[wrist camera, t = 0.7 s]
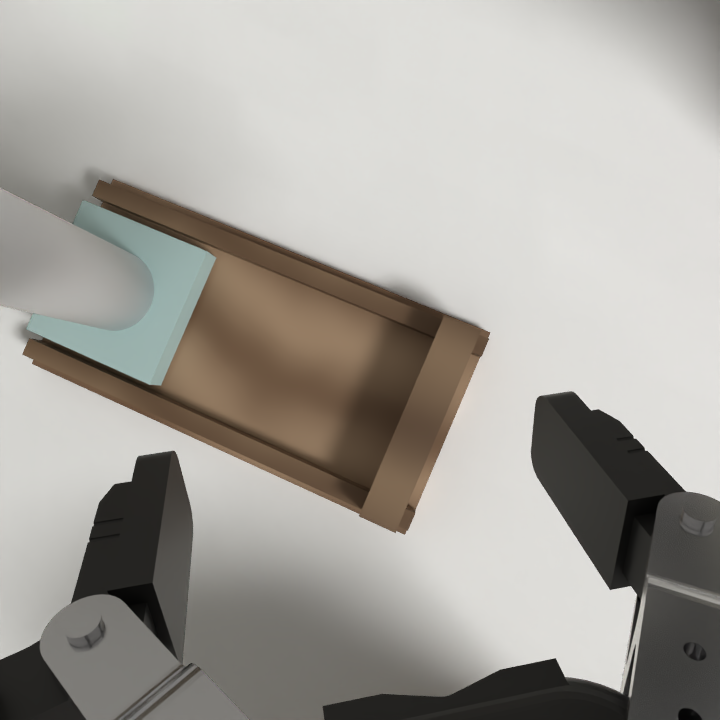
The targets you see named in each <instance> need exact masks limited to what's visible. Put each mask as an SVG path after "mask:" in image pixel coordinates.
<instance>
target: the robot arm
mask: <svg viewBox="0 0 720 720" xmlns="http://www.w3.org/2000/svg"><path fill="white" fill-rule="evenodd" d="M531 458H532V464H533V468H534V471H535V473H536V476H537V478H538V479H539V481H540V482H541V484H542V485H543V487H544V489H545V490H546V492H547V493H548V495H549V496H550V498H551V499H552V501H553V502H554V504H555V505H556V507H557V509H558V510H559V512H560V513H561V515H562V516H563V518H564V519H565V521H566V522H567V524H568V526H569V527H570V529H571V530H572V532H573V533H574V535H575V536H576V538H577V539H578V541H579V543H580V544H581V546H582V547H583V549H584V550H585V552H586V553H587V555H588V556H589V558H590V559H591V561H592V563H593V564H594V566H595V567H596V569H597V570H598V572H599V573H600V575H601V576H602V578H603V580H604V581H605V583H606V584H607V586H608V587H609V589H610V590H612V589H617V588H622V587H628V586H632V588H633V589H634V591H635V592H636V594H637V596H636V601H635V605H634V611H633V617H632V623H631V629H630V635H629V641H628V647H627V653H626V659H625V666H624V672H623V678H622V683H621V688H620V692H618V691H616V690H614V689H611V688H609V687H606V686H604V685H601V684H598V683H594V682H591V681H587V680H582V679H576V678H569V677H565V676H564V674H563V672H562V670H561V668H560V666H559V664H558V662H557V660H556V658H555V659H550V660H545V661H540V662H536V663H531V664H526V665H521V666H516V667H511V668H506V669H502V670H499V671H497V672H495V673H493V674H491V675H489V676H487V677H485V678H483V679H481V680H479V681H477V682H475V683H473V684H472V685H470V686H468V687H466V688H464V689H462V690H460V691H458V692H456V693H454V694H452V695H449V696H445V697H432V696H411V695H391V694H380V695H375V696H370V697H365V698H360V699H356V700H351V701H346V702H341V703H336V704H331V705H326V706H323V711H324V719H325V720H720V502H719V501H717V500H715V499H713V498H711V497H708V496H706V495H702V494H698V493H693V492H686V491H685V490H684V489H683V488H682V487H681V486H680V485H679V484H678V483H677V482H676V481H675V480H674V479H673V478H672V476H671V475H670V474H669V473H668V472H667V471H666V470H665V469H664V468H663V467H662V466H661V465H660V464H659V463H658V462H657V460H656V459H655V458H654V457H653V456H652V455H651V454H650V453H649V452H648V451H645V448H644V447H643V446H642V445H641V443H640V442H639V441H638V440H637V439H634V438H633V435H632V434H631V433H630V432H629V431H628V430H627V429H626V427H625V426H624V425H623V424H622V423H621V422H620V421H619V420H617V419H615V418H613V417H611V416H610V415H608V414H606V413H604V412H602V411H601V410H599V409H598V410H592V411H591V410H590V409H589V408H588V407H587V406H586V405H585V403H584V402H583V401H582V400H581V399H580V398H579V397H578V396H577V395H576V394H575V393H574V392H572V391H570V392H563V393H557V394H550V395H544V396H539V397H538V398H537V400H536V404H535V414H534V425H533V435H532V446H531ZM89 540H90V542H89V543H88V545H87V548H86V552H85V555H84V559H83V562H82V566H81V570H80V573H79V577H78V580H77V584H76V587H75V591H74V595H73V598H72V602H71V604H70V605H68V606H66V607H65V608H64V609H62V610H61V611H60V612H59V613H58V614H56V615H55V616H54V617H53V618H52V620H51V621H50V622H49V623H48V625H47V626H46V628H45V629H44V632H43V634H42V636H41V640H40V641H38V642H36V643H35V644H33V645H32V646H30V647H28V648H26V649H24V650H21V651H19V652H17V653H15V654H12V655H10V656H8V657H6V658H3V659H1V660H0V720H250V719H249V718H248V717H247V716H246V715H245V714H244V713H243V712H242V711H241V710H240V709H239V708H238V707H237V706H236V705H235V704H234V703H233V702H232V701H231V700H230V699H229V697H228V696H227V695H226V694H225V693H224V692H223V691H222V690H221V689H220V688H219V687H218V686H217V685H216V684H215V683H214V682H213V681H212V680H211V679H210V678H209V676H208V675H207V674H206V673H205V672H204V671H203V670H202V669H200V668H199V667H198V666H197V665H195V664H193V663H190V664H189V665H188V666H187V667H185V666H183V665H182V660H183V648H184V636H185V624H186V612H187V600H188V588H189V576H190V564H191V552H192V540H193V520H192V512H191V507H190V502H189V499H188V495H187V491H186V487H185V483H184V479H183V476H182V472H181V468H180V464H179V460H178V457H177V454H176V452H175V451H169V452H162V453H156V454H149V455H143V456H138V457H137V460H136V464H135V468H134V473H133V477H132V482H125V483H119V484H114V485H113V487H112V488H111V489H110V490H109V491H108V493H107V494H106V495H105V496H104V498H103V499H102V500H101V501H100V503H99V505H98V509H97V512H96V516H95V520H94V526H93V527H92V530H91V534H90V537H89Z"/></svg>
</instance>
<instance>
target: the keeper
mask: <svg viewBox="0 0 720 720" xmlns="http://www.w3.org/2000/svg"><path fill="white" fill-rule="evenodd" d="M215 260H216V257H215V256H213V255H212V254H210V253H209V252H207V251H205V250H203V249H200V248H198V247H195V246H193V245H191V244H188V243H186V242H183V241H181V240H179V239H176V238H174V237H171V236H169V235H167V234H164V233H162V232H159V231H157V230H154V229H152V228H150V227H147V226H145V225H142V224H140V223H138V222H135V221H133V220H130V219H128V218H126V217H123V216H121V215H118V214H116V213H113V212H111V211H109V210H106V209H104V208H101V207H99V206H97V205H94V204H92V203H89V202H87V201H84V200H83V201H82V204H81V206H80V208H79V210H78V213H77V215H76V217H75V219H74V222H73V224H72V223H70V222H68V221H66V220H64V219H62V218H60V217H58V216H56V215H54V214H52V213H50V212H48V211H46V210H44V209H42V208H40V207H38V206H36V205H34V204H32V203H30V202H28V201H26V200H24V199H22V198H20V197H18V196H16V195H14V194H12V193H10V192H8V191H6V190H4V189H2V188H0V306H3V307H8V308H12V309H17V310H21V311H25V312H30V313H33V315H32V317H31V319H30V322H29V324H28V326H27V328H26V329H27V330H29V331H31V332H34V333H36V334H38V335H40V336H42V337H45V338H47V339H49V340H51V341H53V342H56V343H58V344H60V345H62V346H65V347H67V348H69V349H71V350H73V351H76V352H78V353H80V354H82V355H85V356H87V357H89V358H91V359H93V360H96V361H98V362H100V363H102V364H104V365H107V366H109V367H111V368H113V369H116V370H118V371H120V372H122V373H124V374H127V375H129V376H131V377H133V378H136V379H138V380H140V381H142V382H144V383H147V384H149V385H161V384H162V382H163V380H164V377H165V375H166V373H167V370H168V368H169V366H170V363H171V361H172V359H173V357H174V354H175V352H176V350H177V347H178V345H179V343H180V340H181V338H182V336H183V334H184V331H185V329H186V327H187V324H188V322H189V320H190V317H191V315H192V313H193V310H194V308H195V306H196V304H197V301H198V299H199V297H200V294H201V292H202V290H203V287H204V285H205V283H206V281H207V278H208V276H209V274H210V271H211V269H212V267H213V264H214V262H215Z"/></svg>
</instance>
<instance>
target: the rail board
mask: <svg viewBox="0 0 720 720" xmlns="http://www.w3.org/2000/svg"><path fill="white" fill-rule="evenodd" d="M92 196H94V197H96V198H97V199H99V200H101V201H102V202H103V203H102V205H101V208H104V209H106V210H109V211H111V212H113V213H116V214H118V215H121V216H123V217H126V218H128V219H130V220H133V221H135V222H138V223H140V224H142V225H145V226H147V227H150V228H152V229H154V230H157V231H159V232H162V233H164V234H167V235H169V236H171V237H174V238H176V239H179V240H181V241H183V242H186V243H188V244H191V245H193V246H195V247H198V248H200V249H203V250H205V251H207V252H209V253H210V254H212V255H213V256H215V257H216V260H215V262H214V264H213V267H212V269H211V271H210V274H209V276H208V278H207V281H206V283H205V285H204V287H203V290H202V292H201V294H200V297H199V299H198V301H197V304H196V306H195V308H194V310H193V313H192V315H191V317H190V320H189V322H188V324H187V327H186V329H185V331H184V334H183V336H182V338H181V340H180V343H179V345H178V347H177V350H176V352H175V354H174V357H173V359H172V361H171V363H170V366H169V368H168V370H167V373H166V375H165V377H164V380H163V382H162V384H161V385H149V384H147V383H144V382H142V381H140V380H138V379H136V378H133V377H131V376H129V375H127V374H124V373H122V372H120V371H118V370H116V369H113V368H111V367H109V366H107V365H104V364H102V363H100V362H98V361H96V360H93V359H91V358H89V357H87V356H85V355H82V354H80V353H78V352H76V351H73V350H71V349H69V348H67V347H65V346H62V345H60V344H58V343H56V342H53V341H51V340H49V339H47V338H45V337H43V340H36V339H30V338H29V340H28V342H27V345H26V347H25V349H24V352H23V355H25V356H27V357H29V358H31V359H33V362H32V364H34V365H36V366H38V367H40V368H42V369H45V370H47V371H49V372H51V373H53V374H55V375H58V376H60V377H62V378H64V379H66V380H69V381H71V382H73V383H75V384H77V385H79V386H82V387H84V388H86V389H88V390H90V391H93V392H95V393H97V394H99V395H101V396H103V397H106V398H108V399H110V400H112V401H114V402H117V403H119V404H121V405H123V406H125V407H127V408H130V409H132V410H134V411H136V412H138V413H141V414H143V415H145V416H147V417H149V418H151V419H154V420H156V421H158V422H160V423H162V424H165V425H167V426H169V427H171V428H173V429H175V430H178V431H180V432H182V433H184V434H186V435H189V436H191V437H193V438H195V439H197V440H199V441H202V442H204V443H206V444H208V445H210V446H213V447H215V448H217V449H219V450H221V451H223V452H226V453H228V454H230V455H232V456H234V457H237V458H239V459H241V460H243V461H245V462H247V463H250V464H252V465H254V466H256V467H258V468H261V469H263V470H265V471H267V472H269V473H271V474H274V475H276V476H278V477H280V478H282V479H285V480H287V481H289V482H291V483H293V484H295V485H298V486H300V487H302V488H304V489H306V490H308V491H311V492H313V493H315V494H317V495H319V496H322V497H324V498H326V499H328V500H330V501H332V502H335V503H337V504H339V505H341V506H343V507H346V508H348V509H350V510H352V511H354V512H356V513H359V514H360V515H359V516H360V517H362V518H364V519H366V520H368V521H371V522H373V523H375V524H377V525H379V526H382V527H384V528H386V529H388V530H390V531H392V532H395V533H396V531H398V532H400V533H402V534H404V535H405V533H406V531H408V529H409V526H410V524H411V522H412V519H413V517H414V515H415V510H416V507H417V505H418V502H419V500H420V498H421V495H422V493H423V491H424V488H425V486H426V483H427V481H428V479H429V476H430V474H431V472H432V469H433V467H434V465H435V462H436V460H437V457H438V455H439V453H440V450H441V448H442V446H443V443H444V441H445V439H446V436H447V434H448V431H449V429H450V427H451V424H452V422H453V420H454V417H455V415H456V413H457V410H458V408H459V405H460V403H461V401H462V398H463V396H464V394H465V391H466V389H467V387H468V384H469V382H470V379H471V377H472V375H473V372H474V370H475V368H476V365H477V363H478V361H479V358H480V357H481V356H482V354H483V352H484V349H485V347H486V345H487V342H488V340H489V338H488V337H489V335H490V332H488V331H485V330H483V329H480V328H478V327H476V326H473V325H471V324H468V323H466V322H463V321H461V320H458V319H456V318H453V317H451V316H449V315H446V314H444V313H441V312H439V311H436V310H434V309H431V308H429V307H426V306H424V305H421V304H419V303H417V302H414V301H412V300H409V299H407V298H404V297H402V296H399V295H397V294H394V293H392V292H389V291H387V290H385V289H382V288H380V287H377V286H375V285H372V284H370V283H367V282H365V281H362V280H360V279H358V278H355V277H353V276H350V275H348V274H345V273H343V272H340V271H338V270H335V269H333V268H330V267H328V266H326V265H323V264H321V263H318V262H316V261H313V260H311V259H308V258H306V257H303V256H301V255H299V254H296V253H294V252H291V251H289V250H286V249H284V248H281V247H279V246H276V245H274V244H271V243H269V242H267V241H264V240H262V239H259V238H257V237H254V236H252V235H249V234H247V233H244V232H242V231H240V230H237V229H235V228H232V227H230V226H227V225H225V224H222V223H220V222H217V221H215V220H212V219H210V218H208V217H205V216H203V215H200V214H198V213H195V212H193V211H190V210H188V209H185V208H183V207H181V206H178V205H176V204H173V203H171V202H168V201H166V200H163V199H161V198H158V197H156V196H153V195H151V194H149V193H146V192H144V191H141V190H139V189H136V188H134V187H131V186H129V185H126V184H124V183H121V182H119V181H117V180H114V179H113V180H112V183H111V184H109V183H106V182H104V181H101V180H99V181H98V183H97V186H96V188H95V190H94V193H93V195H92Z"/></svg>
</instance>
